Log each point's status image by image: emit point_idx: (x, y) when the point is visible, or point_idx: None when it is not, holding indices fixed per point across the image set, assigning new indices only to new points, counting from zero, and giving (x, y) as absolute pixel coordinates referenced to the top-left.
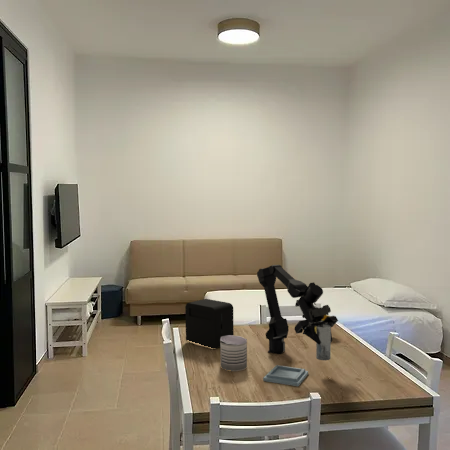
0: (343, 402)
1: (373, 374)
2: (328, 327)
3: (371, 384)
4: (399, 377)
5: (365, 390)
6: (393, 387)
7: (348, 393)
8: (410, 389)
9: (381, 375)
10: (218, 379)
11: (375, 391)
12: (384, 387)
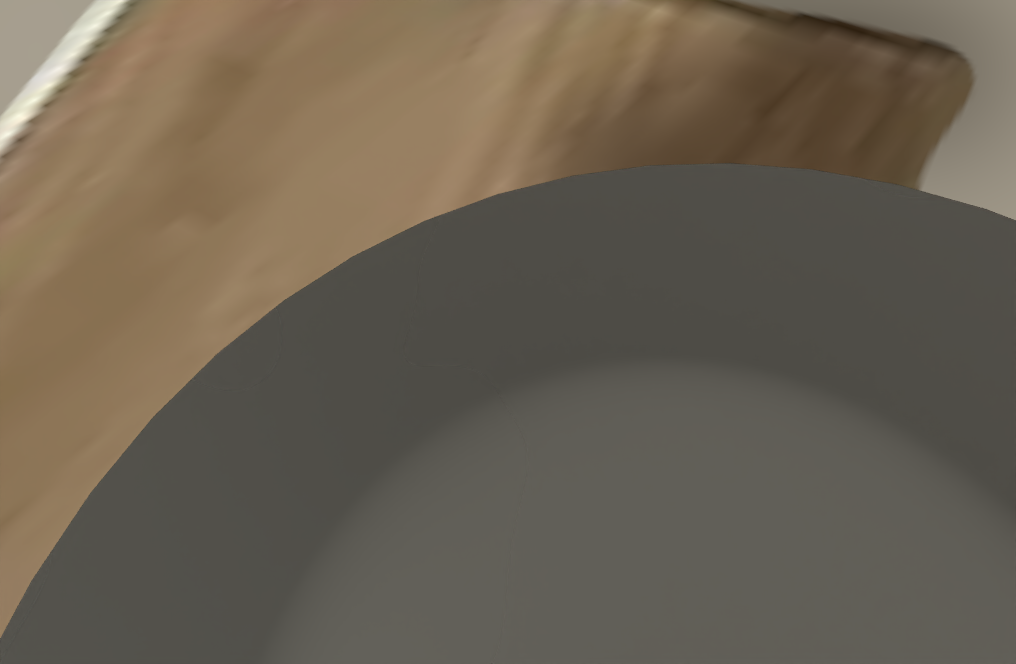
0: (830, 31)
1: (134, 345)
2: (597, 231)
3: (363, 183)
4: (37, 193)
5: (508, 118)
6: (272, 78)
7: (681, 129)
8: (210, 14)
9: (103, 292)
10: None
11: (454, 77)
12: (329, 102)
